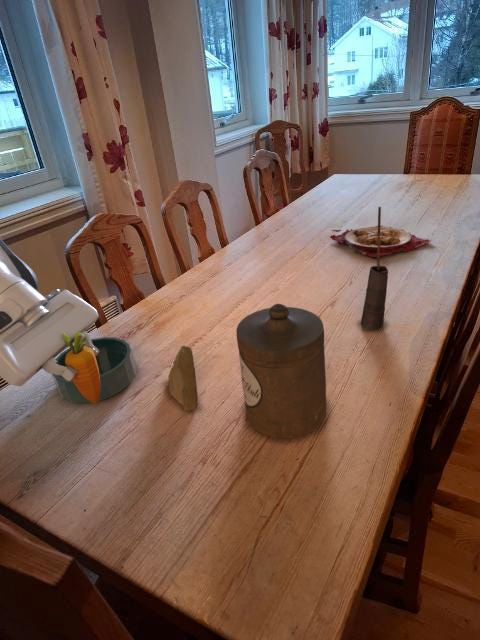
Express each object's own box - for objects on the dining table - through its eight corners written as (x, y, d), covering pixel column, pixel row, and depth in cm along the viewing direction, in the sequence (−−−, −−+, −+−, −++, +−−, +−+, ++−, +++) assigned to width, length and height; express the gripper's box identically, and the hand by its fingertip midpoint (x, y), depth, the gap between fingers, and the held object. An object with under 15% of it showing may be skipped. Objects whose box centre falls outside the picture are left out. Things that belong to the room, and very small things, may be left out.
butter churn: (398, 338, 97) (409, 216, 83) (354, 337, 99) (358, 218, 85) (393, 317, 104) (403, 203, 91) (353, 317, 107) (356, 205, 93)
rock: (209, 404, 80) (216, 366, 88) (174, 378, 77) (185, 342, 85) (171, 426, 85) (181, 389, 93) (138, 403, 82) (151, 367, 90)
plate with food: (376, 262, 135) (377, 251, 133) (328, 239, 155) (328, 230, 154) (432, 245, 143) (434, 235, 142) (379, 226, 164) (380, 217, 162)
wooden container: (249, 385, 87) (238, 288, 77) (323, 384, 85) (322, 284, 74) (242, 439, 75) (227, 331, 64) (328, 439, 72) (328, 328, 62)
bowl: (61, 415, 85) (52, 392, 82) (58, 372, 99) (50, 351, 96) (143, 388, 90) (137, 365, 87) (129, 351, 104) (123, 330, 101)
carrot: (77, 403, 78) (50, 333, 70) (102, 390, 80) (79, 321, 73) (88, 416, 74) (61, 344, 67) (114, 402, 77) (91, 331, 69)
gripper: (55, 295, 82) (111, 343, 83) (-35, 356, 65) (38, 414, 67) (67, 274, 78) (125, 325, 80) (-25, 333, 61) (52, 395, 63)
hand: (85, 366), depth 73 cm, fingers closed on carrot, 5 cm apart
